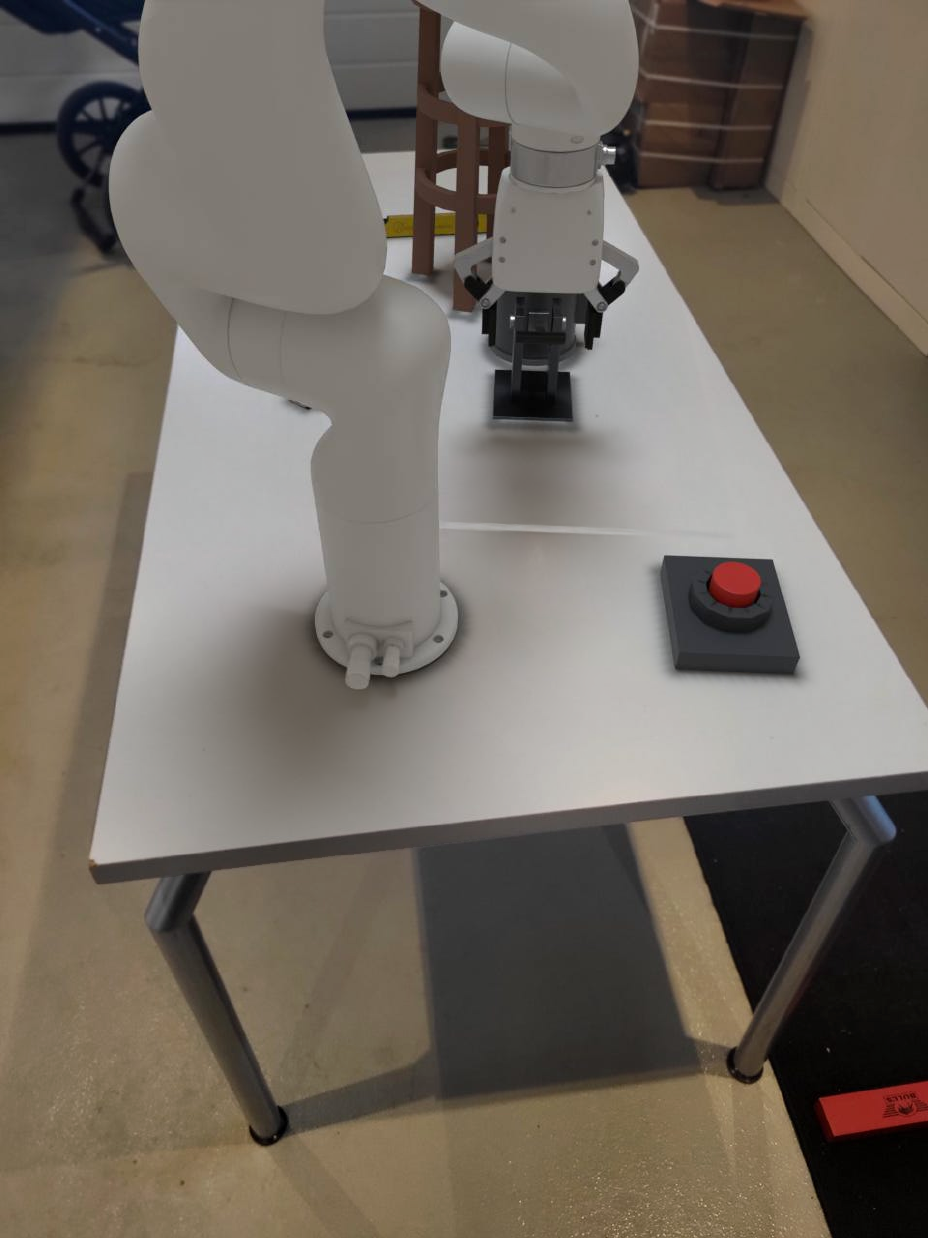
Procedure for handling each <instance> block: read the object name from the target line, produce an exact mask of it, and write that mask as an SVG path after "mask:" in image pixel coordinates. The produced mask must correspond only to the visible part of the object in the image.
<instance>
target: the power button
mask: <svg viewBox="0 0 928 1238" xmlns="http://www.w3.org/2000/svg"><path fill="white" fill-rule="evenodd" d="M760 584H761V580H760V576H759V575H758V573H757V572H756V571H755V570H754V569H753V568H751V567H749V566H748V565H745V564H742V563H738V562H726V563H722V564H720V565H719V566H717V567H716V568H715V570H714V572H713V575H712V578H711V582H710V585H709V591H710V594H711V596H712V597H713V598H714V599H715V600H716V601H717V602H719V603H721V604H724V605H726V606H728V607H733V608H743V607H747V606H749V605H751V604H752V603H753V602H754V601H755V599H756V596H757V593H758V590H759V587H760Z"/></svg>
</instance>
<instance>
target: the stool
mask: <svg viewBox="0 0 928 1238" xmlns="http://www.w3.org/2000/svg"><path fill="white" fill-rule="evenodd" d="M411 3H412V4H413V5H415V6H416V7H418V8H419V16H418V17H419V19H418V20H419V21H418V24H419V25H418V52H417V83H416V85H417V86H416V114H415V115H416V117H415V119H416V120H415V146H414V147H415V148H414V149H415V152H414V154H415V155H414V180H413V181H414V182H413V183H414V184H413V213H412V214H413V236H412V243H411V245H412V248H411V274H414V275H415V274H416V275H421V276H422V275H423V276H429V275H430V274H431V272H432V271H433V270H434V269H435V243H436V241H435V239H436V238H435V237H436V235H435V213H436V208H439V209H441V210H444V211H449V212H455V234H454V249H453V250H454V252H453V253H454V256H455V255H456V254H457V253H459V252H461V251H463V250H465V249H467V248H469V247H472V246H474V245H476V244H478V243H479V242H478V241H479V240H478V239H479V238H478V237H479V232H478V214H484V215H486V214H487V229H486V232H485V233H486V234H485V240H486V239H488V238H490V237H492V236H493V229H494V217H495V207H496V199H497V193H498V187H499V182H500V178H501V174H502V171H503V170H504V169H505V168H507V167H510V161H511V151H509V126H511V125H512V124H510V123H505V122H500V121H494V120H488V119H484V118H480V117H476V116H473V115H471V114H468V113H466V112H464V111H463V110H461V109H460V108H458V107H457V106H456V105H455V104H454V103H453V102H450V101H447V100H443V99H441V98H440V93H443V92H446V90H445V88H444V85H443V81H442V76H441V71H440V68H441V32H442V31H441V30H442V29H441V28H442V27H441V26H442V15H441V14H440V13H438V12H436V11H434V10H432V9H430V8H428V7H426V6H425V5H423V4H421V3H420V2H418V1H416V0H411ZM439 122H442V123H444V124H451V125H456V126H457V136H456V137H457V138H456V139H457V140H456V141H457V142H456V143H457V145H456V148H455V149H450V150H446V151H445V150H444V151H441V152H438V135H439V134H438V133H439V128H438V127H439ZM481 128H488V144H487V145H488V146H487V147H481ZM480 167H487V187H486V188H487V189H486V190H487V192H486V193H480ZM453 169H456V175H455V176H456V177H455V178H456V179H455V182H456V183H455V190H453V189H452V190H451V189H448V188H446V187H443V186H440V185H437V174H440V173H442V172H445V171H448V170H453ZM454 256H453V257H454ZM485 262H491V263H492V257H489V258H487V259H485ZM472 268H473V270H474V272H475V273H476V274H477V275H478V263H477V264H475V265H473V266H472ZM452 291H453V292H452V310H453V311H457V312H464V313H472V312H473V310H474V308H475V306H476V305H477V300H476V299H475V298H474V297H473V296H472V295H471V294H470V293H469V292H468V291H467V290H466V289H465V287H464V283H463V281H462V279H461V278H460V276H459V274H458V272H457V271H456V269H455V267H454V266H453V289H452Z"/></svg>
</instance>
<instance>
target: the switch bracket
mask: <svg viewBox="0 0 928 1238" xmlns="http://www.w3.org/2000/svg"><path fill="white" fill-rule="evenodd" d="M524 323H525V297H516V302H515V315H510V328H511V329H514V340H513V359H512V363H511V369H499V368H498V369H497V368H496V369H494V378H493V379H494V381H493V398H492V399H493V400H492V403H493V404H492V420H507V421H508V420H510V421H537V422H539V421H540V422H541V421H542V422H565V423H566V422H569V423H573V422H574V412H573V397H572V381H571V380H572V379H571V371H559V363H560V362H559V354H560V345H552V344H549V347H548V359H547V365H546V370H529V369H528V370H525V369H524V370H523V365H522V356H523V344H521V343H515V333H516V331H524ZM565 329H566V317H563V310H562V298H553V300H552V312H551V323H550V332H562V330H565Z"/></svg>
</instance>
